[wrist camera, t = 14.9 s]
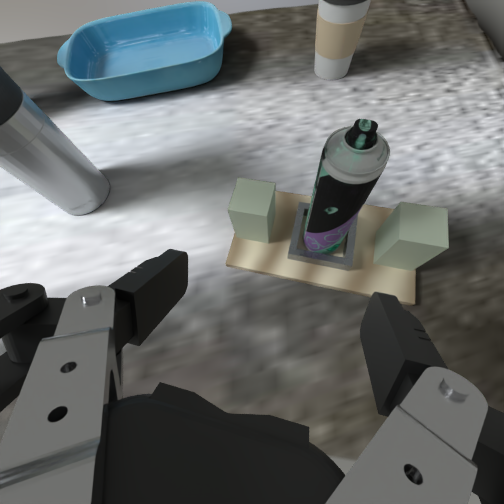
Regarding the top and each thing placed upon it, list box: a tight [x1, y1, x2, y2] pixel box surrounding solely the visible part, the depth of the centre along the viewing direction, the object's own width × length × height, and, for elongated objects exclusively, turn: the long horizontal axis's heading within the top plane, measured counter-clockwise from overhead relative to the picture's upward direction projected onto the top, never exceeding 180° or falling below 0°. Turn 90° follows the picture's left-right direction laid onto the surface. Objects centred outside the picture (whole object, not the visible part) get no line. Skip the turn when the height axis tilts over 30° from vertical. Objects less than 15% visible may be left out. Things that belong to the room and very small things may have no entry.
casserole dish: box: [57, 1, 232, 101], centre depth 55 cm, size 37×22×7 cm, turn 100°
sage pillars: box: [228, 177, 449, 271], centre depth 34 cm, size 25×5×8 cm, turn 76°
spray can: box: [303, 119, 390, 255], centre depth 28 cm, size 6×6×20 cm
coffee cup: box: [315, 0, 371, 80], centre depth 46 cm, size 9×9×15 cm
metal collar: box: [287, 202, 358, 271], centre depth 36 cm, size 9×9×2 cm
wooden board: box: [226, 191, 416, 306], centre depth 38 cm, size 26×14×1 cm, turn 76°
